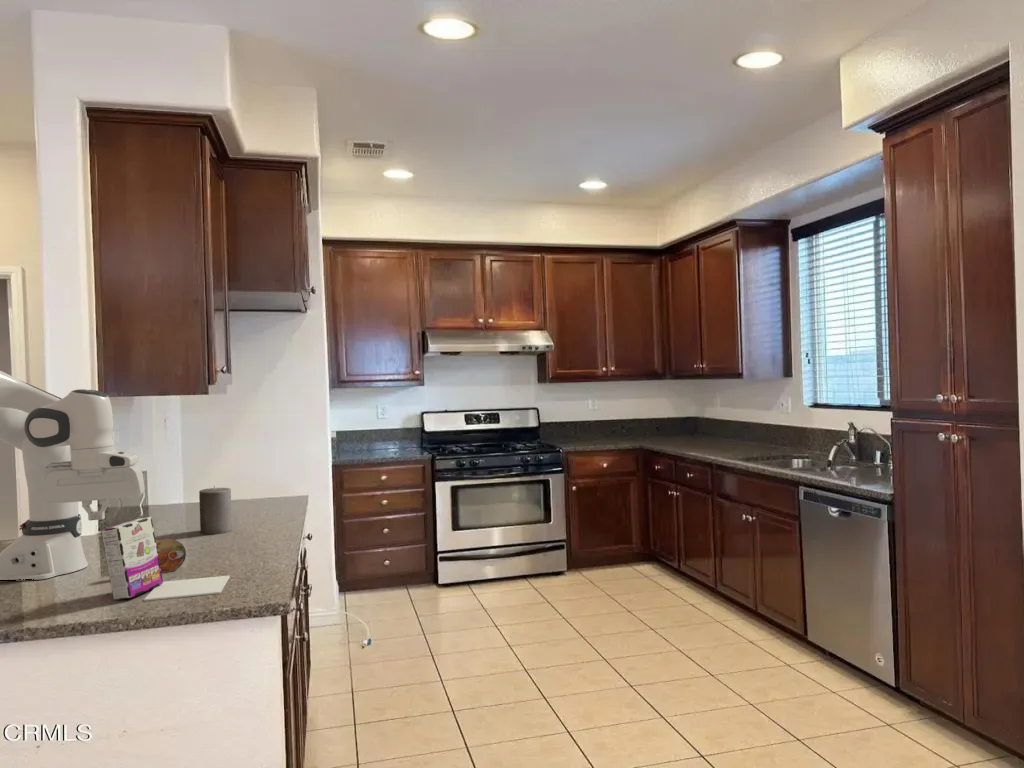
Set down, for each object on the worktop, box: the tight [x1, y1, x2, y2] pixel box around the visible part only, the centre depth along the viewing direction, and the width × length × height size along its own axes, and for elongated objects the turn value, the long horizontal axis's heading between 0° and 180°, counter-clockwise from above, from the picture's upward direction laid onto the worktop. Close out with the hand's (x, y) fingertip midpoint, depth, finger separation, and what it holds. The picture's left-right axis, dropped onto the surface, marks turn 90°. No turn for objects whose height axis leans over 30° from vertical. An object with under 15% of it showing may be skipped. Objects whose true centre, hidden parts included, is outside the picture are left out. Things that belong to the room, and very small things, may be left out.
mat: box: [143, 574, 231, 602], centre depth 168 cm, size 16×14×1 cm
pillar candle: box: [198, 485, 233, 536], centre depth 232 cm, size 10×10×15 cm
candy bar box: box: [101, 516, 164, 601], centre depth 165 cm, size 11×5×16 cm, turn 168°
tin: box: [156, 538, 187, 574], centre depth 182 cm, size 15×3×8 cm, turn 123°
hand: (96, 519), depth 163 cm, fingers closed
